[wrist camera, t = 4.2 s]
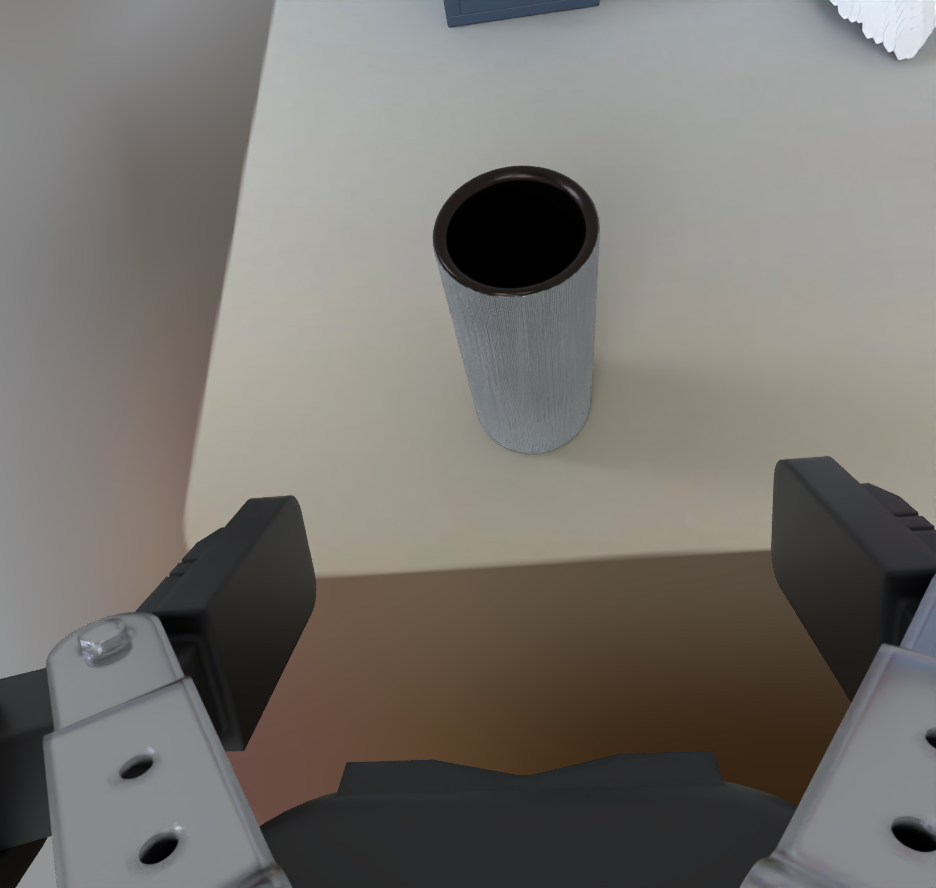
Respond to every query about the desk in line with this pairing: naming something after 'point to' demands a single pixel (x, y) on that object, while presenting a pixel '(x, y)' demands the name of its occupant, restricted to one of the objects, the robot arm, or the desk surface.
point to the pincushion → (893, 22)
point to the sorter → (504, 9)
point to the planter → (523, 300)
